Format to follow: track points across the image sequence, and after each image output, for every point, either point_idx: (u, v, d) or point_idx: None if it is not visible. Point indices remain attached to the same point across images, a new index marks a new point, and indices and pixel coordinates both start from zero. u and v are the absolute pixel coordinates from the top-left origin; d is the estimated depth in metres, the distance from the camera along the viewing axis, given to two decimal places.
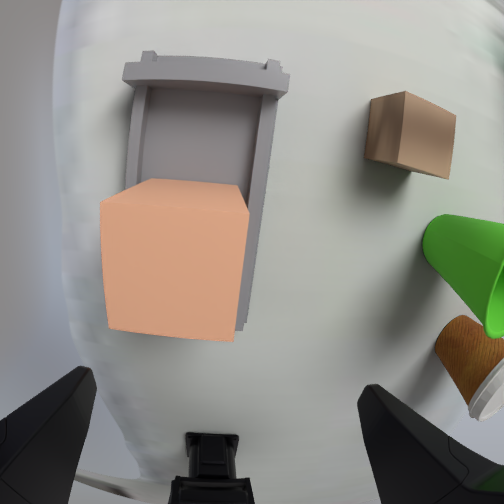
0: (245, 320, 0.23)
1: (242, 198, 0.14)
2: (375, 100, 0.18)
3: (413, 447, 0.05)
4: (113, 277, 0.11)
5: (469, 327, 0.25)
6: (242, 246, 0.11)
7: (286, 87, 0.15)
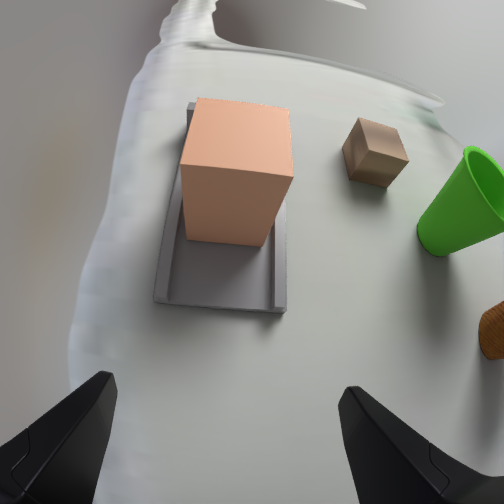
0: (285, 307, 0.22)
1: None
2: (344, 144, 0.30)
3: (391, 453, 0.05)
4: (197, 129, 0.15)
5: (500, 303, 0.23)
6: (287, 120, 0.17)
7: None
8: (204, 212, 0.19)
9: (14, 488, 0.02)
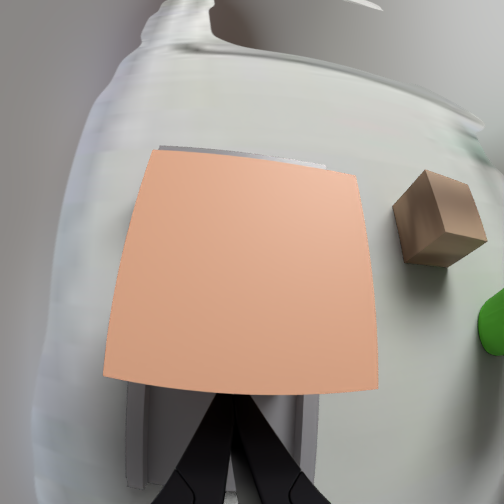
0: None
1: None
2: (397, 203, 0.21)
3: (248, 473, 0.05)
4: (143, 255, 0.06)
5: None
6: (359, 211, 0.08)
7: None
8: None
9: None
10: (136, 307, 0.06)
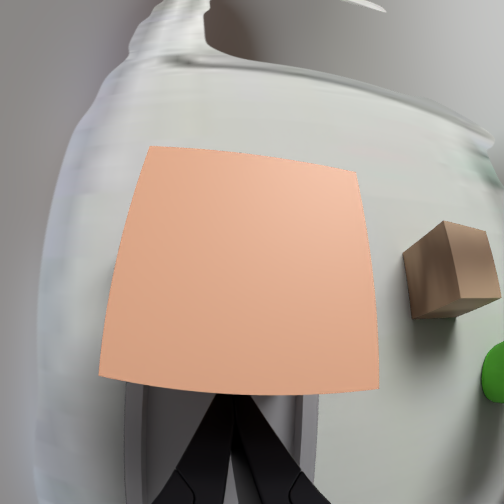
0: None
1: None
2: (408, 251, 0.19)
3: (248, 473, 0.05)
4: (139, 253, 0.06)
5: None
6: (359, 207, 0.07)
7: None
8: None
9: None
10: (132, 305, 0.06)
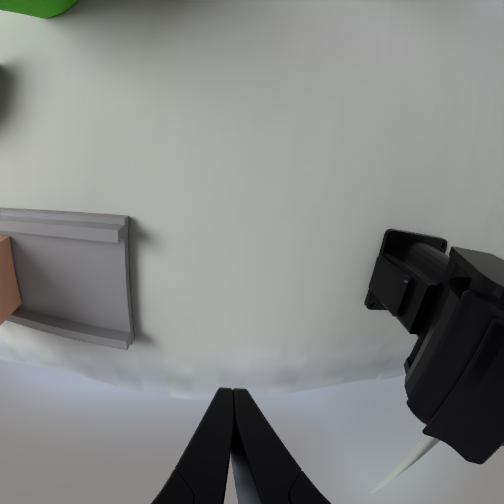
0: (120, 220, 0.17)
1: None
2: None
3: (248, 473, 0.05)
4: None
5: None
6: None
7: None
8: None
9: None
10: None
